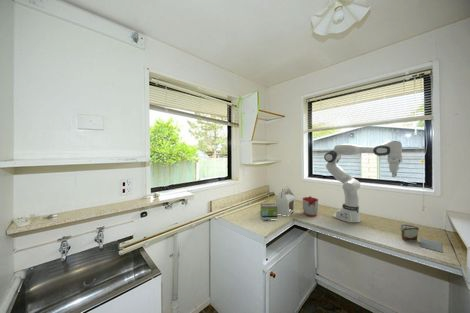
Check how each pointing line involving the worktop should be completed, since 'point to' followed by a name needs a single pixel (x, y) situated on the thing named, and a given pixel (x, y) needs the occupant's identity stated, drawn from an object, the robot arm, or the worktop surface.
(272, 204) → the tea box
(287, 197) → the gable box
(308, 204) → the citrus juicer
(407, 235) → the food container
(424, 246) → the mat
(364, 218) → the worktop surface
